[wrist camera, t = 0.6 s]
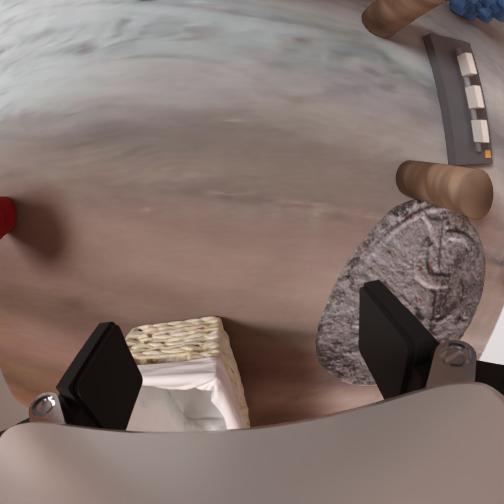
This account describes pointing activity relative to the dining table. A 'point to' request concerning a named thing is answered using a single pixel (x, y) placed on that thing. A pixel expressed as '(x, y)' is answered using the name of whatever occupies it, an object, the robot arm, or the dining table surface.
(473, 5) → the grapes
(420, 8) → the post inner
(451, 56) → the power strip
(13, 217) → the plastic cup
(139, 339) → the storage basket
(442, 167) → the post outer
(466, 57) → the switch rocker
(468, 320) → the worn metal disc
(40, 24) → the dining table surface
